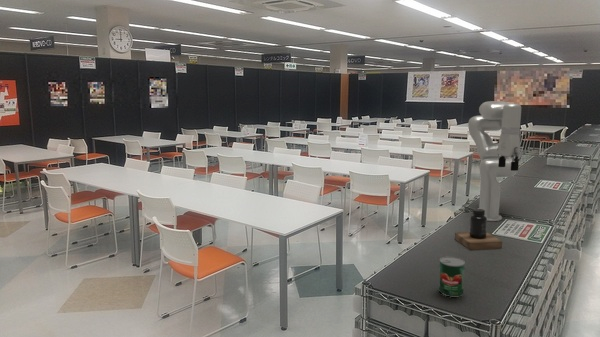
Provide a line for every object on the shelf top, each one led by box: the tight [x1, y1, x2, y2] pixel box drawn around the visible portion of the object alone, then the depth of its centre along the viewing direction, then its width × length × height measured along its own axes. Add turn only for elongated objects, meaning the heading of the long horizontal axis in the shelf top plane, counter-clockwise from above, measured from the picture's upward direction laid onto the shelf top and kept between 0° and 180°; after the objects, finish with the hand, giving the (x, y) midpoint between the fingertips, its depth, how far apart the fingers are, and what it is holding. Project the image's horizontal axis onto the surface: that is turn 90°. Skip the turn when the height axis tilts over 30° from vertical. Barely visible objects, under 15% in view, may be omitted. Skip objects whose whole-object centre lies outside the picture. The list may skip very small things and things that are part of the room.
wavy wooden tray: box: [454, 231, 503, 251], centre depth 182 cm, size 14×14×3 cm
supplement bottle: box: [469, 208, 488, 239], centre depth 181 cm, size 7×7×12 cm
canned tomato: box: [438, 256, 466, 297], centre depth 137 cm, size 8×8×11 cm
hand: (507, 168), depth 191 cm, fingers open, 9 cm apart
